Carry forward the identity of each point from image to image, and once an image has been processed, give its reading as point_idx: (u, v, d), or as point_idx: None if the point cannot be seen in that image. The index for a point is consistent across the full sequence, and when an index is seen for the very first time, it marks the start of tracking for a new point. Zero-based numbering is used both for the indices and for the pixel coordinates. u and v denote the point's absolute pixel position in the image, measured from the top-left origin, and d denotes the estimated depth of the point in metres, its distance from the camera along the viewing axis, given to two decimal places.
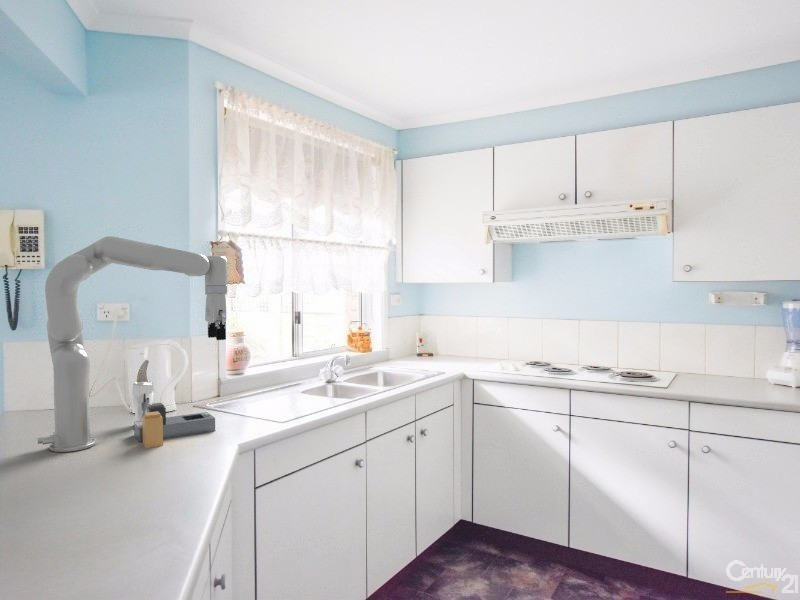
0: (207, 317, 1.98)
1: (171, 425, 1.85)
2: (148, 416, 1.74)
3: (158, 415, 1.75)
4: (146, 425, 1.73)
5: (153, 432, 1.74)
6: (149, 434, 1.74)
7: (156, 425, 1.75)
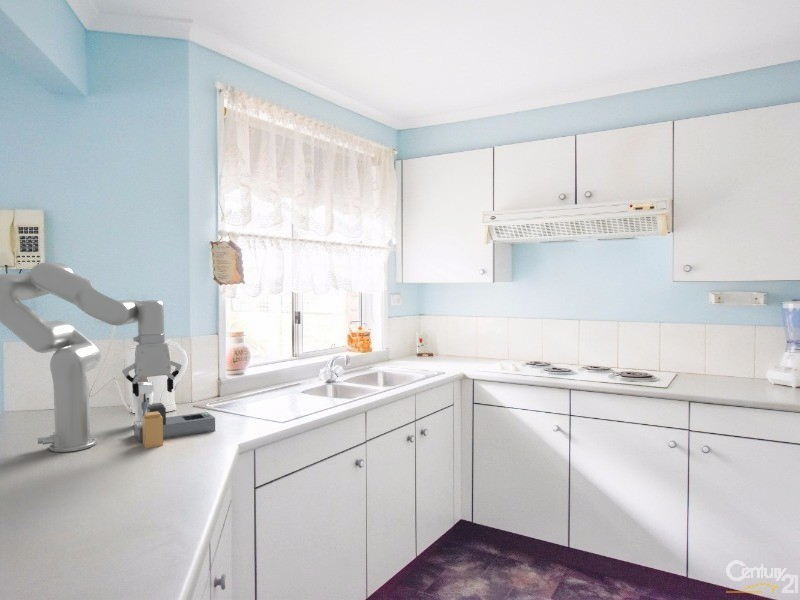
0: (150, 371, 1.73)
1: (171, 425, 1.85)
2: (148, 416, 1.74)
3: (158, 415, 1.75)
4: (146, 425, 1.73)
5: (153, 432, 1.74)
6: (149, 434, 1.74)
7: (156, 425, 1.75)
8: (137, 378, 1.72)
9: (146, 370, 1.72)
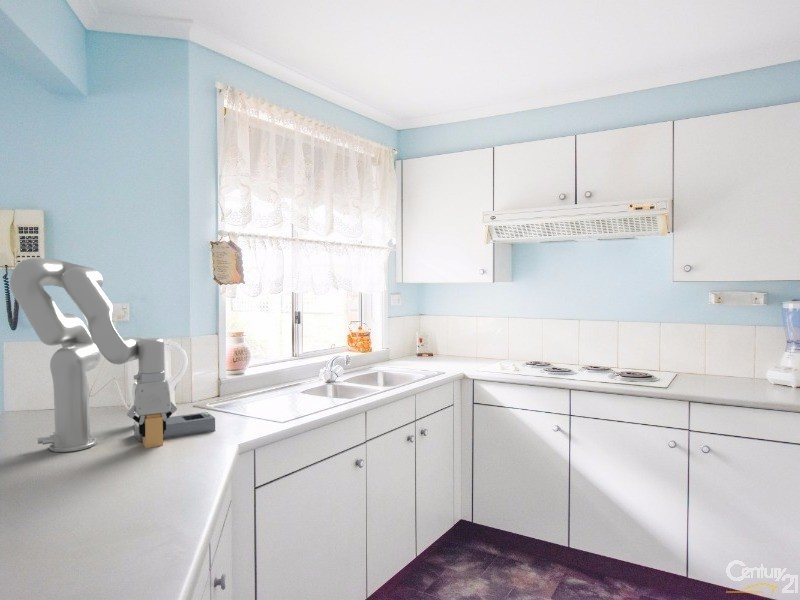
0: (149, 409, 1.73)
1: (171, 425, 1.85)
2: (148, 416, 1.74)
3: (158, 415, 1.76)
4: (146, 425, 1.73)
5: (153, 432, 1.74)
6: (149, 434, 1.74)
7: (156, 425, 1.75)
8: (142, 418, 1.74)
9: (146, 408, 1.73)
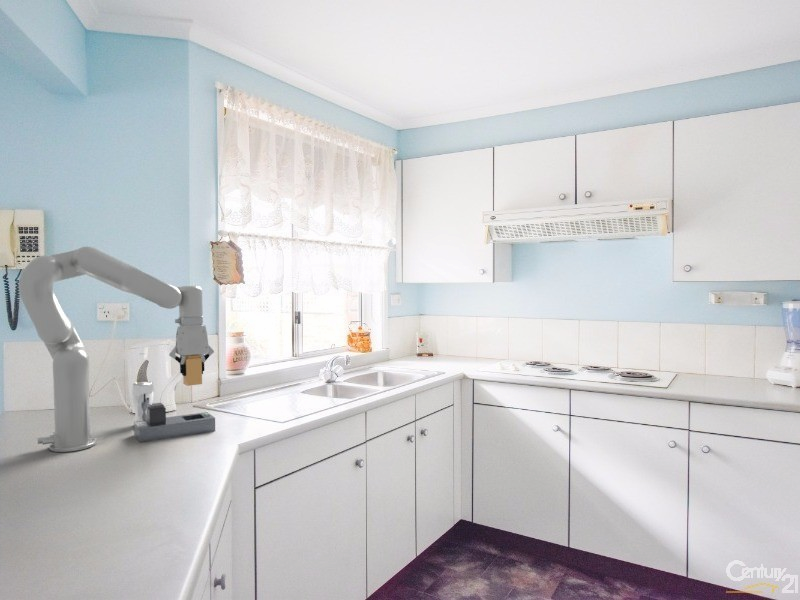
0: (190, 350, 1.89)
1: (171, 425, 1.85)
2: (188, 357, 1.89)
3: (197, 356, 1.91)
4: (187, 365, 1.89)
5: (193, 371, 1.90)
6: (190, 373, 1.89)
7: (196, 365, 1.90)
8: (183, 358, 1.89)
9: (186, 349, 1.88)
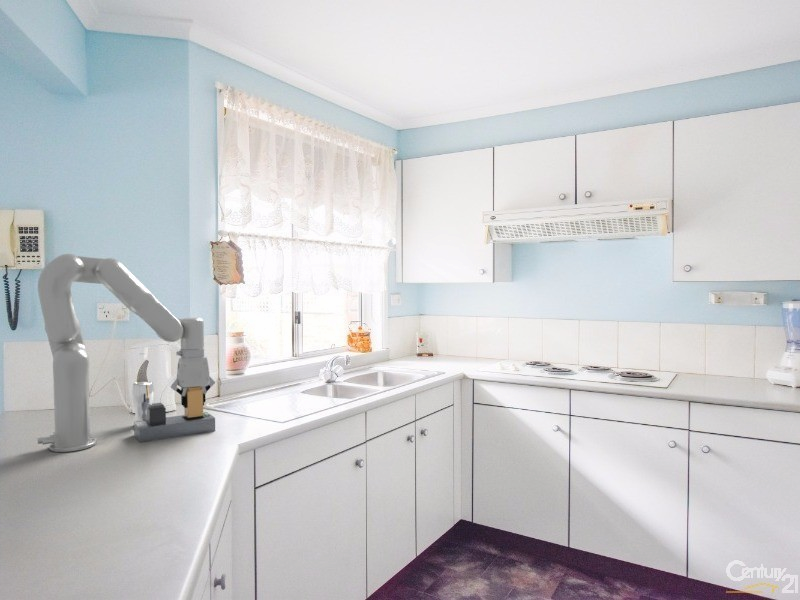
0: (191, 382, 1.90)
1: (171, 425, 1.85)
2: (190, 389, 1.90)
3: (199, 388, 1.92)
4: (188, 397, 1.90)
5: (195, 403, 1.91)
6: (191, 405, 1.90)
7: (197, 397, 1.91)
8: (184, 390, 1.90)
9: (188, 381, 1.89)
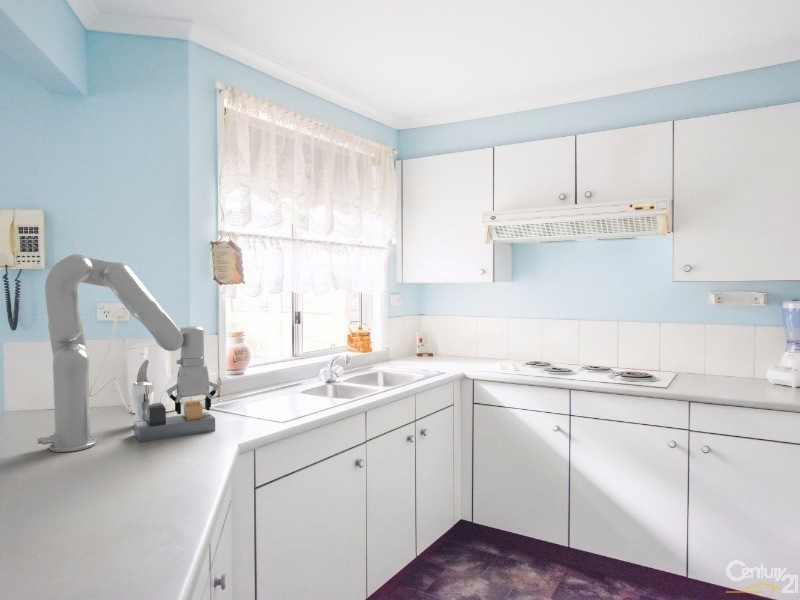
0: (191, 391, 1.90)
1: (171, 425, 1.85)
2: (189, 404, 1.91)
3: (198, 403, 1.92)
4: (188, 412, 1.90)
5: (194, 418, 1.91)
6: None
7: (196, 412, 1.91)
8: (179, 397, 1.89)
9: (188, 390, 1.89)
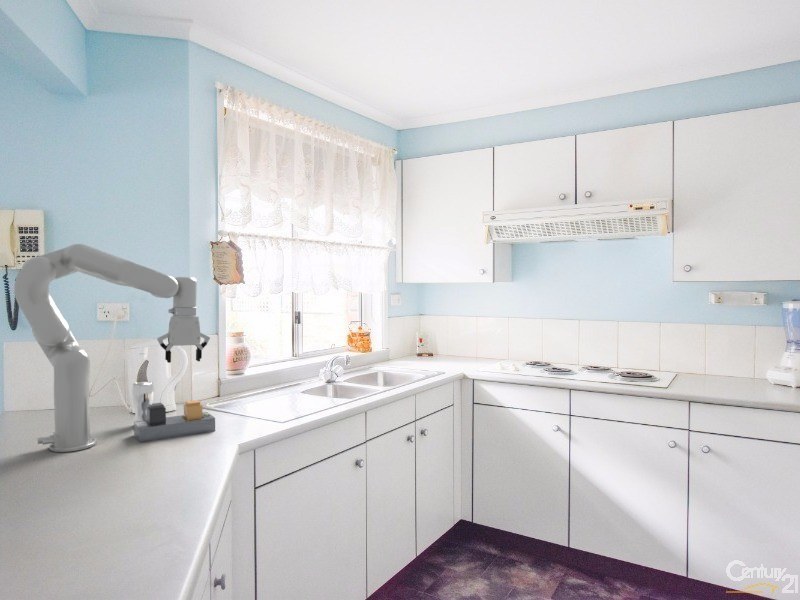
0: (181, 340, 1.91)
1: (171, 425, 1.85)
2: (189, 404, 1.90)
3: (198, 403, 1.92)
4: (188, 412, 1.90)
5: (194, 418, 1.91)
6: None
7: (196, 412, 1.91)
8: (170, 346, 1.90)
9: (178, 339, 1.91)
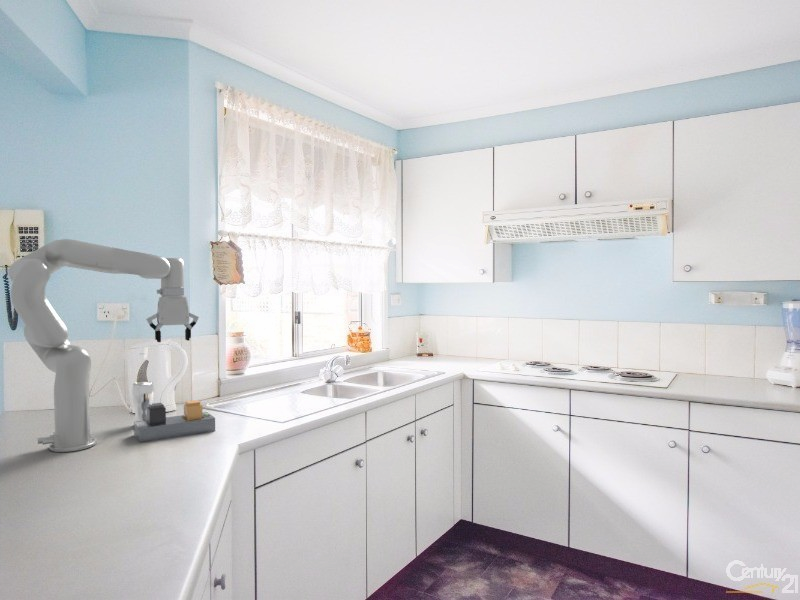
0: (171, 320, 1.95)
1: (171, 425, 1.85)
2: (189, 404, 1.91)
3: (198, 403, 1.92)
4: (188, 412, 1.90)
5: (194, 418, 1.91)
6: None
7: (196, 412, 1.91)
8: (159, 326, 1.94)
9: (167, 319, 1.94)
